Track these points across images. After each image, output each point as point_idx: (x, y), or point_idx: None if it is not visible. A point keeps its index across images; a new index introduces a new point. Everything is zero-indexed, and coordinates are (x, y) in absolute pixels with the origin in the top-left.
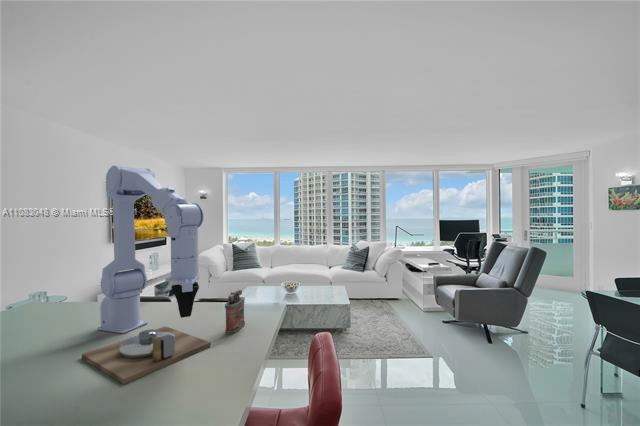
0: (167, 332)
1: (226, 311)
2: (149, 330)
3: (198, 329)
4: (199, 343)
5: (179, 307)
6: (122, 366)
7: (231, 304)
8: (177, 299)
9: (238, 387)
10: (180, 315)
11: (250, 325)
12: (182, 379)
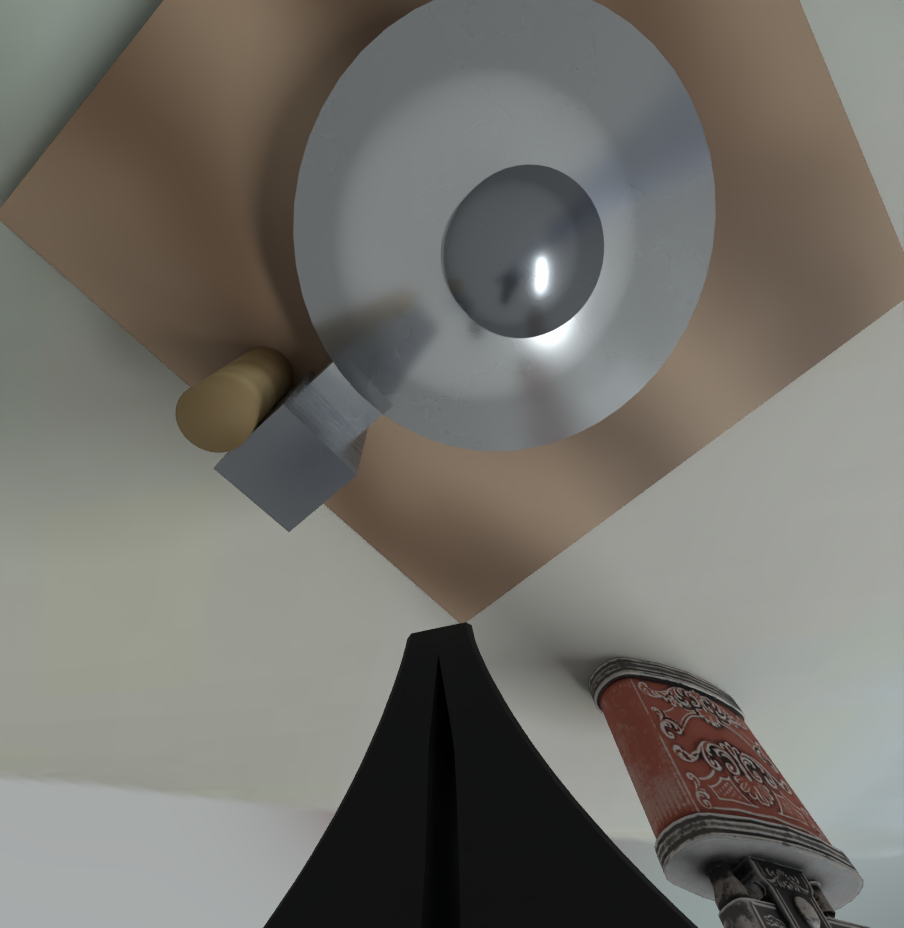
0: (647, 375)
1: (668, 795)
2: (578, 257)
3: (763, 514)
4: (463, 574)
5: (377, 731)
6: (192, 135)
7: (696, 869)
8: (308, 862)
9: (10, 743)
10: (405, 649)
11: None
12: (84, 533)
